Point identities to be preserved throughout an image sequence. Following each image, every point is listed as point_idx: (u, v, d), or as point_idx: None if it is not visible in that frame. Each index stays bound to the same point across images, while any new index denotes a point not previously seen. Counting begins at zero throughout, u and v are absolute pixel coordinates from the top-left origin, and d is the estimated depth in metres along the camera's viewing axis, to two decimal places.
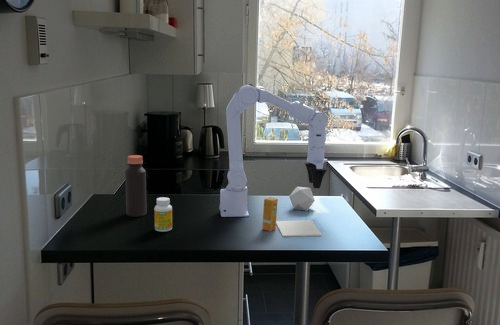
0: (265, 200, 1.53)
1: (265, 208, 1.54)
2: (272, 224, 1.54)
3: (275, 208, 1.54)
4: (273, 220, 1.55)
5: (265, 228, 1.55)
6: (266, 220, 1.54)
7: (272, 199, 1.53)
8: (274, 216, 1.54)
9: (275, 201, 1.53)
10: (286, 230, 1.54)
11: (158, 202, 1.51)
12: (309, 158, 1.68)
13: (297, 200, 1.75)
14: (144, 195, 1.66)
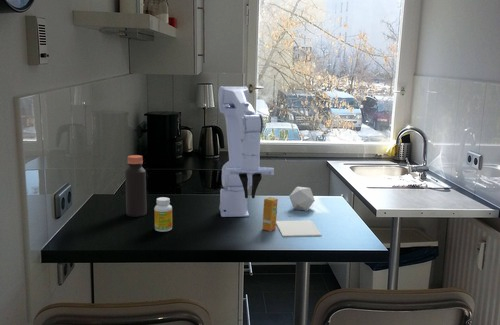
0: (265, 200, 1.53)
1: (265, 208, 1.54)
2: (272, 224, 1.54)
3: (275, 208, 1.54)
4: (273, 220, 1.55)
5: (265, 228, 1.55)
6: (266, 220, 1.54)
7: (272, 199, 1.53)
8: (274, 216, 1.54)
9: (275, 201, 1.53)
10: (286, 230, 1.54)
11: (158, 202, 1.51)
12: None
13: (297, 200, 1.75)
14: (144, 195, 1.66)
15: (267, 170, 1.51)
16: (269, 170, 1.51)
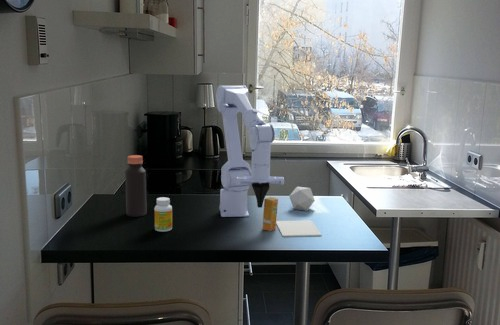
0: (265, 200, 1.53)
1: (265, 208, 1.54)
2: (272, 224, 1.54)
3: (276, 208, 1.54)
4: (274, 220, 1.55)
5: (265, 228, 1.55)
6: (266, 219, 1.54)
7: (272, 199, 1.53)
8: (274, 216, 1.54)
9: (275, 201, 1.53)
10: (286, 230, 1.54)
11: (158, 202, 1.51)
12: None
13: (297, 200, 1.75)
14: (144, 195, 1.66)
15: (277, 179, 1.52)
16: (279, 179, 1.52)
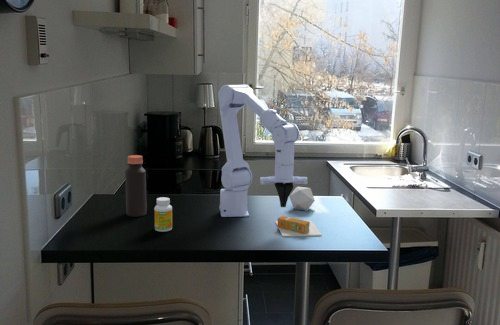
0: (307, 221, 1.52)
1: (300, 220, 1.54)
2: (282, 221, 1.55)
3: (295, 229, 1.52)
4: (285, 224, 1.54)
5: (282, 216, 1.57)
6: (289, 218, 1.55)
7: (306, 227, 1.51)
8: (289, 226, 1.53)
9: (302, 229, 1.51)
10: (286, 230, 1.54)
11: (158, 202, 1.51)
12: None
13: (297, 200, 1.75)
14: (144, 195, 1.66)
15: (301, 179, 1.52)
16: (303, 179, 1.53)
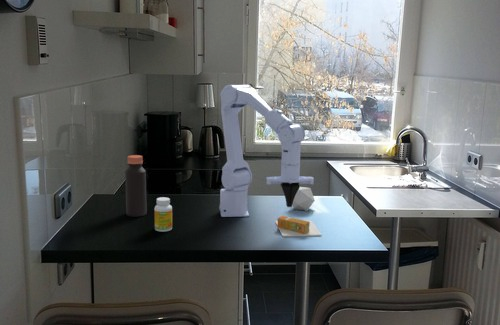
0: (307, 221, 1.52)
1: (300, 220, 1.54)
2: (282, 221, 1.55)
3: (295, 229, 1.52)
4: (285, 224, 1.54)
5: (282, 216, 1.57)
6: (289, 218, 1.55)
7: (306, 227, 1.51)
8: (289, 226, 1.53)
9: (302, 229, 1.51)
10: (286, 230, 1.54)
11: (158, 202, 1.51)
12: None
13: (297, 200, 1.75)
14: (144, 195, 1.66)
15: (307, 179, 1.53)
16: (309, 179, 1.53)
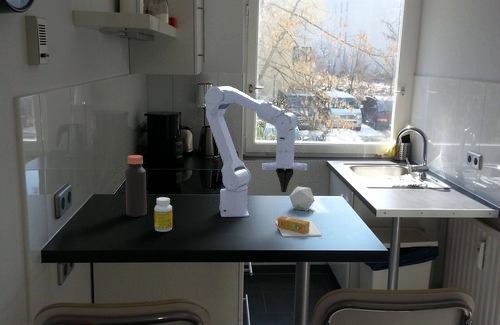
0: (307, 221, 1.52)
1: (300, 220, 1.54)
2: (282, 221, 1.55)
3: (295, 229, 1.52)
4: (285, 224, 1.54)
5: (282, 216, 1.57)
6: (289, 218, 1.55)
7: (306, 227, 1.51)
8: (289, 226, 1.53)
9: (302, 229, 1.51)
10: (286, 230, 1.54)
11: (158, 202, 1.51)
12: None
13: (297, 200, 1.75)
14: (144, 195, 1.66)
15: (301, 166, 1.59)
16: (303, 166, 1.59)
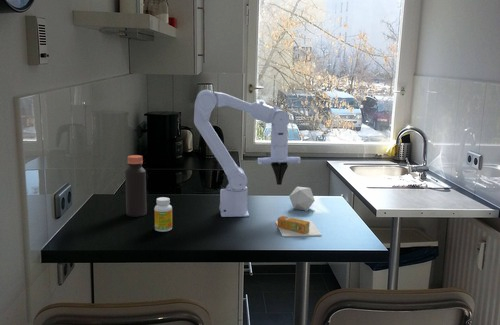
0: (307, 221, 1.52)
1: (300, 220, 1.54)
2: (282, 221, 1.55)
3: (295, 229, 1.52)
4: (285, 224, 1.54)
5: (282, 216, 1.57)
6: (289, 218, 1.55)
7: (306, 227, 1.51)
8: (289, 226, 1.53)
9: (302, 229, 1.51)
10: (286, 230, 1.54)
11: (158, 202, 1.51)
12: None
13: (297, 200, 1.75)
14: (144, 195, 1.66)
15: (294, 159, 1.69)
16: (296, 159, 1.69)
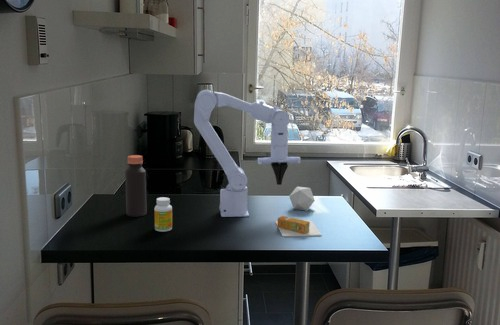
0: (307, 221, 1.52)
1: (300, 220, 1.54)
2: (282, 221, 1.55)
3: (295, 229, 1.52)
4: (285, 224, 1.54)
5: (282, 216, 1.57)
6: (289, 218, 1.55)
7: (306, 227, 1.51)
8: (289, 226, 1.53)
9: (302, 229, 1.51)
10: (286, 230, 1.54)
11: (158, 202, 1.51)
12: None
13: (297, 200, 1.75)
14: (144, 195, 1.66)
15: (294, 159, 1.69)
16: (296, 159, 1.69)
